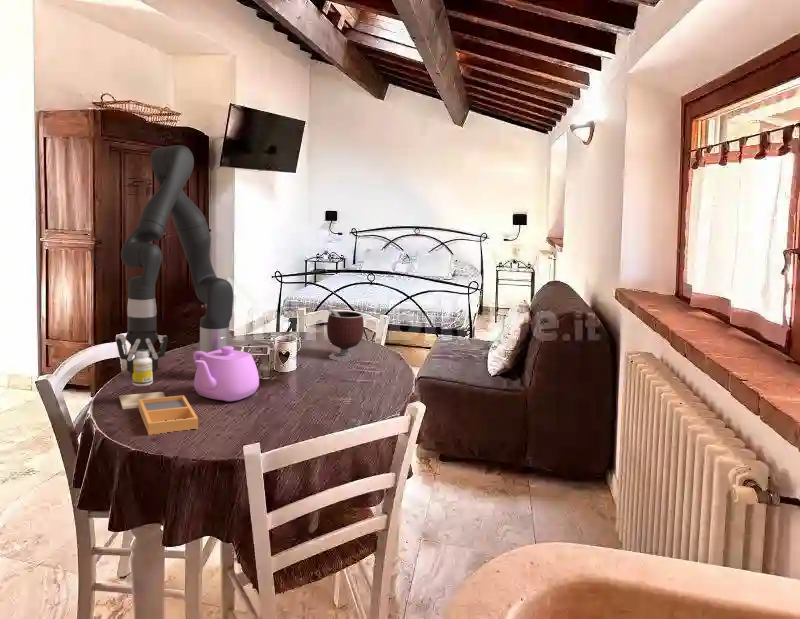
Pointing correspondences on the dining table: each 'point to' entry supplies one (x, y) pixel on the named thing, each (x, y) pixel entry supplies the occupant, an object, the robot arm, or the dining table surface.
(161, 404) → the divided wooden tray
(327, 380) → the dining table surface
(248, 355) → the teapot
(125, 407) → the mat
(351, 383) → the dining table surface
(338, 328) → the mate gourd
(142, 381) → the supplement bottle
